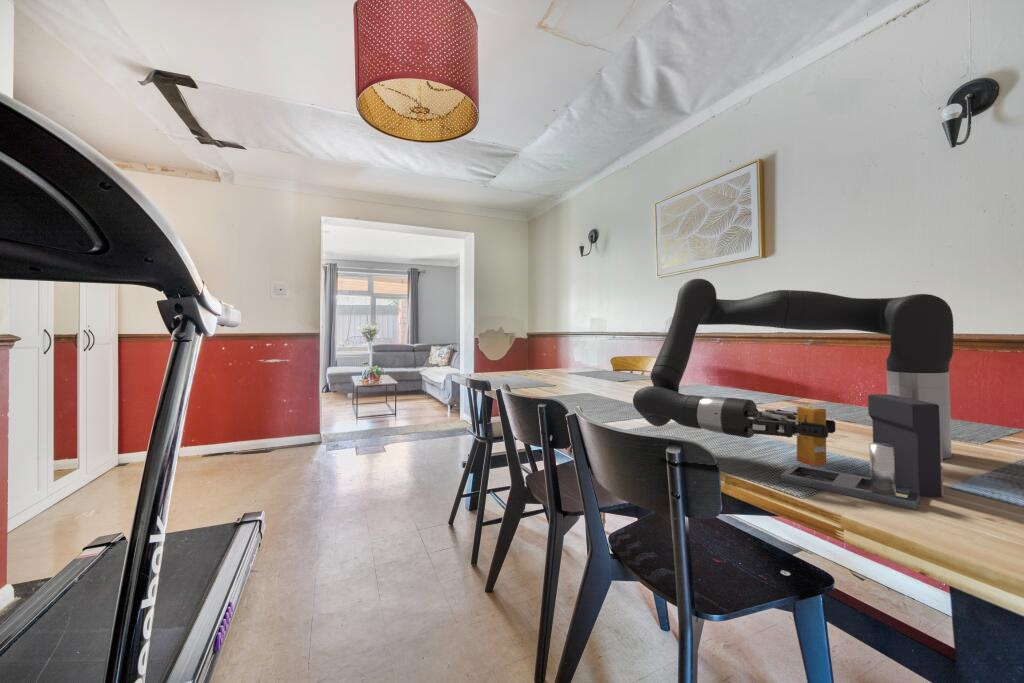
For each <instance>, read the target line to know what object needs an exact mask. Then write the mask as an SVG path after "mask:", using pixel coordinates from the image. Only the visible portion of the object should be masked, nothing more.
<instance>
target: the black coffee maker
mask: <svg viewBox="0 0 1024 683" xmlns="http://www.w3.org/2000/svg"><path fill="white" fill-rule="evenodd" d="M867 402H868V403H867V408H868V413H867V414H868V416H869V417H870V418H871V421H872V443H885V444H890V445H893V446H895V471H896V483H901V484H906V485H912V486H915V487H917V488H919V489H921V498H923V497H924V498H942V496H944V469H943V468H944V467H943V466H942V464H941V463H943V460H944V459H943V457H942V434H941V433H940V408H939V405H938V404H935V403H930V402H925V401H920V400H915V399H910V398H905V397H900V396H896V395H888V394H868V395H867Z"/></svg>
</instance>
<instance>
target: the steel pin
mask: <svg viewBox="0 0 1024 683" xmlns="http://www.w3.org/2000/svg"><path fill="white" fill-rule="evenodd" d="M868 448H869V450H868V451H869V478H870V485H871V487H870V491H875V492H880V493H885V494H890V495H895V496H897V492H896V471H895V446H893V445H890V444H885V443H873V442H869V444H868Z"/></svg>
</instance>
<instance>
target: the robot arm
mask: <svg viewBox="0 0 1024 683" xmlns="http://www.w3.org/2000/svg"><path fill="white" fill-rule="evenodd" d="M716 291H717V290H716V288H715V286H714V285H713V283H712V282H710V281H709V280H707V279H704V278H694V279H693V278H692V279H690V280H688V281H686V282H685V283H683V284H682V285H681V286H680V288H679V290H678V292H677V299H676V304H675V307H674V308H675V309H674V313H673V316H672V320H671V323H670V326H669V328H668V331H667V334H666V336H665V339H664V341H663V343H662V346H661V349H660V351H659V352H658V355H657V357H656V359H655V362H654V364H653V367H652V369H651V372H650V375H649V376H650V380H651V382H652V385H653V386H652V385H651V386H644V387H641V388H639V389H638V390H637V391H636V392H634V394H633V396H632V405H633V407H634V409H635V411H636V412H638V414H640V416H642V418H644V419H645V420H646V421H647V423H649V425H652V426H655V427H662V426H665V425H667V424H668V423H669V422H670V421H671V420H673V421H674V422H676V423H677V424H678V425H680V426H683V427H687V428H692V429H699V430H705V431H708V432H712V433H715V434H716V433H717V434H721V435H728V436H732V437H733V436H734V437H739V438H746V439H750V438H752V437H754V436H755V435H764V436H776V437H786V438H793V436H794V437H797V436H800V434H801V435H805V436H811V437H818V438H826V439H827V438H828V437H829V434H833V433H835V432H836V422H835V420H833V419H826V425H823V424H815V423H807V422H801V424H800V421H797V411H796V412H794V411H789V410H782V409H769V408H765V410H762V411H759V409H758V407H757V405H756V402H755V401H754V400H752V399H747V398H739V397H726V396H714V395H713V396H704V395H694V394H685V393H681V392H679V391H680V383H681V382H682V378H683V376H684V374H685V372H686V369H687V366H688V364H689V360H690V357H691V353H692V349H693V345H694V340H695V336H696V333H697V329H698V326H700V325H702V326H703V325H704V326H705V325H706V326H711V325H712V326H713V325H715V326H717V325H724V326H725V325H734V326H735V325H736V326H737V325H738V326H750V327H765V328H767V327H769V328H777V329H785V330H786V329H787V330H797V331H798V330H799V331H836V330H837V331H838V330H840V331H841V330H844V331H845V330H847V331H861V332H866V333H875V334H882V335H887V336H890V349H889V350H890V351H889V353H888V356H887V358H886V361H885V362H886V363H885V364H886V384H887V385H886V387H887V389H886V390H887V394H886V395H896V396H900V397H905V398H910V399H915V400H920V401H925V402H930V403H935V404H938V405H939V408H940V433H941V434H942V457H943V460H944V459H951V458H952V455H953V454H952V424H951V423H952V422H951V391H950V390H951V389H950V388H951V387H950V362H951V360H952V357H953V355H954V315H953V311H952V309H951V307H950V305H949V304H948V302H946V301H945V300H944V299H943V298H941V297H939V296H937V295H933V294H927V293H917V294H910V295H906V296H900V297H885V298H884V297H883V298H882V297H881V298H879V297H877V298H860V297H849V296H843V295H838V294H833V293H828V292H827V293H826V292H819V291H813V290H797V289H794V290H793V289H777V290H773V291H768V292H764V293H760V294H758V295H754V296H750V297H747V298H742V299H723V298H722V299H720V298H718V297H717V292H716Z"/></svg>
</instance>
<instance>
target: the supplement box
mask: <svg viewBox="0 0 1024 683" xmlns="http://www.w3.org/2000/svg"><path fill="white" fill-rule="evenodd" d="M796 413H797V419H796V420H797V421H800V424H801V422H807V423H815V424H823V425H826V420H827V409H826V408H824V407H823V408H822V407H815V406H810V405H809V406H808V405H799V406H797V408H796ZM796 462H798V463H802V464H805V465H809V467H821V466H822V467H823V466H826V465H827V438H818V437H811V436H805V435H801V434H800V436H796Z"/></svg>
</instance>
